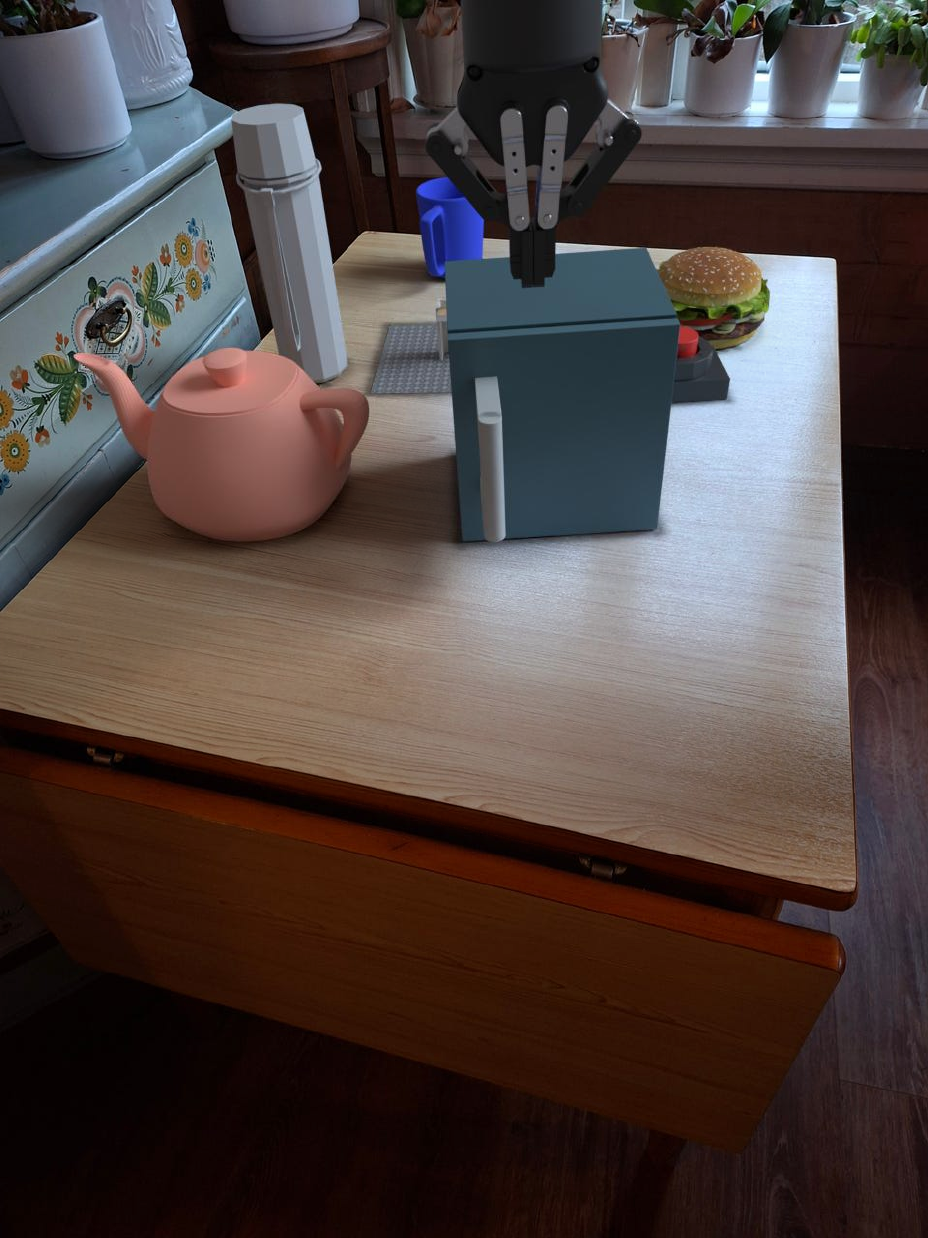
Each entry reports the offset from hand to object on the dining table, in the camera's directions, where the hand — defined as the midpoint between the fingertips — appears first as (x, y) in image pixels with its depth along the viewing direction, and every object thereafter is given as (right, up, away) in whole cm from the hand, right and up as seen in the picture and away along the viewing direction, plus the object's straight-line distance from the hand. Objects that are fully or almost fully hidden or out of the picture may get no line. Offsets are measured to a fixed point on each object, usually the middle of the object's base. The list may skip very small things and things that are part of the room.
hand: (532, 282), depth 58 cm
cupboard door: (+4, -17, +14) cm, 22 cm away
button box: (+17, +2, +33) cm, 37 cm away
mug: (-6, +21, +55) cm, 59 cm away
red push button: (+16, +5, +30) cm, 35 cm away
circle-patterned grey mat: (-4, +7, +40) cm, 40 cm away
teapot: (-24, -11, +23) cm, 35 cm away
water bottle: (-20, +4, +38) cm, 44 cm away
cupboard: (+3, -10, +21) cm, 24 cm away
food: (+21, +10, +41) cm, 48 cm away
